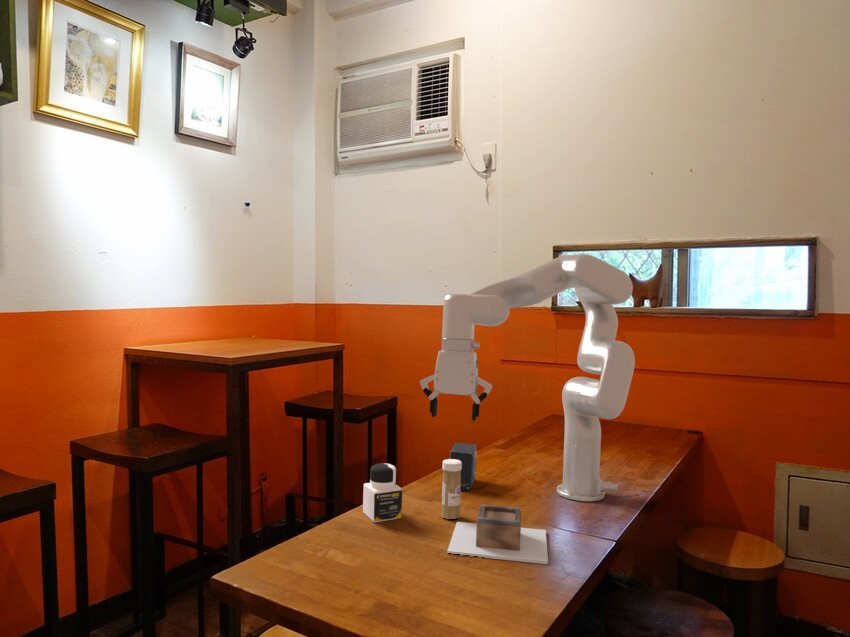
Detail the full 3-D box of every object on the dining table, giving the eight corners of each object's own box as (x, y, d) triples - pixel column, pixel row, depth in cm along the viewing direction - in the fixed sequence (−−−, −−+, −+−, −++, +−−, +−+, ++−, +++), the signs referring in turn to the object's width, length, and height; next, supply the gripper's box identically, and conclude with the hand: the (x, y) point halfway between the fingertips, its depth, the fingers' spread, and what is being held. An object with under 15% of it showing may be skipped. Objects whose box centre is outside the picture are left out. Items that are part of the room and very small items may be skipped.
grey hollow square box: (520, 533, 128) (521, 507, 128) (519, 551, 119) (520, 523, 119) (479, 529, 129) (480, 503, 129) (475, 546, 120) (476, 518, 120)
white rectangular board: (545, 532, 130) (545, 529, 130) (547, 564, 115) (547, 561, 115) (456, 524, 134) (456, 521, 134) (447, 553, 118) (447, 550, 118)
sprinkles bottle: (456, 521, 135) (458, 464, 135) (438, 518, 137) (439, 462, 136) (462, 515, 139) (464, 459, 139) (444, 512, 141) (446, 457, 141)
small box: (471, 491, 157) (472, 453, 156) (447, 489, 158) (449, 451, 158) (476, 479, 167) (477, 443, 167) (453, 477, 168) (454, 442, 168)
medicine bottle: (373, 523, 133) (375, 471, 133) (362, 512, 139) (363, 463, 139) (402, 518, 136) (403, 467, 136) (389, 508, 143) (390, 459, 142)
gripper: (495, 347, 140) (492, 418, 140) (425, 343, 143) (422, 412, 144) (492, 349, 132) (488, 424, 133) (418, 344, 136) (415, 417, 136)
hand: (454, 417), depth 138 cm, fingers open, 9 cm apart
